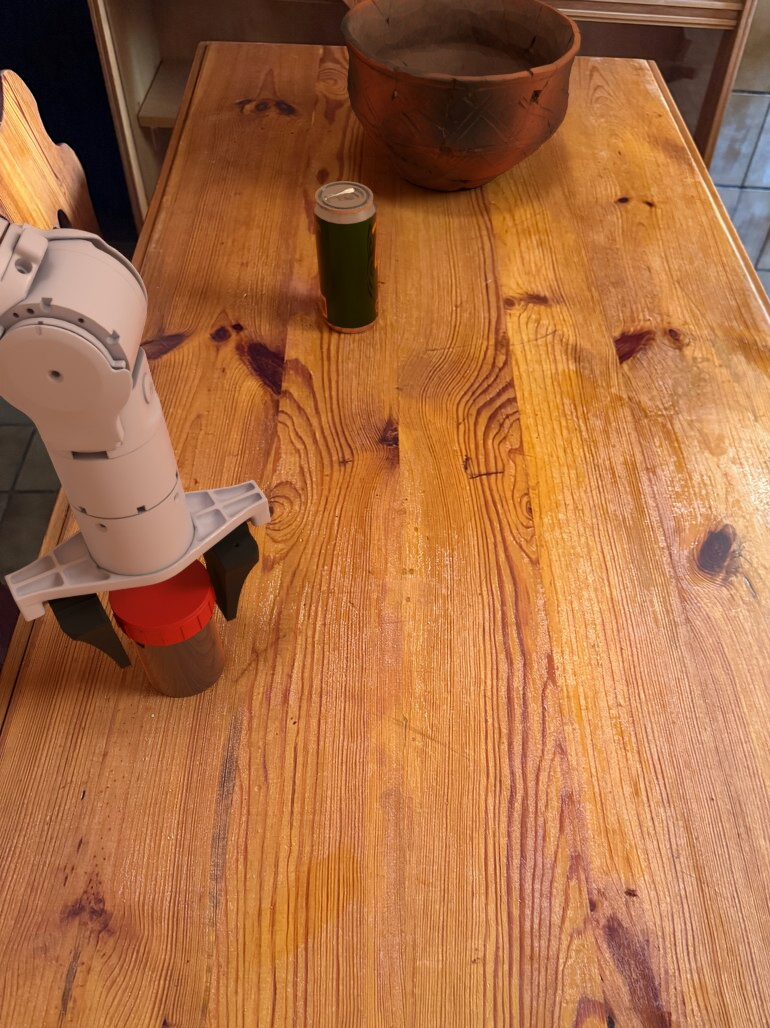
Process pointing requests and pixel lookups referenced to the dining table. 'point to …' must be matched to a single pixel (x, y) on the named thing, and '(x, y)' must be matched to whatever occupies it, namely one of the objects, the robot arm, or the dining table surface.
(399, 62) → the bowl
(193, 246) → the dining table surface
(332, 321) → the beer can
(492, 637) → the dining table surface
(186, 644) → the jar
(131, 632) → the jar lid
